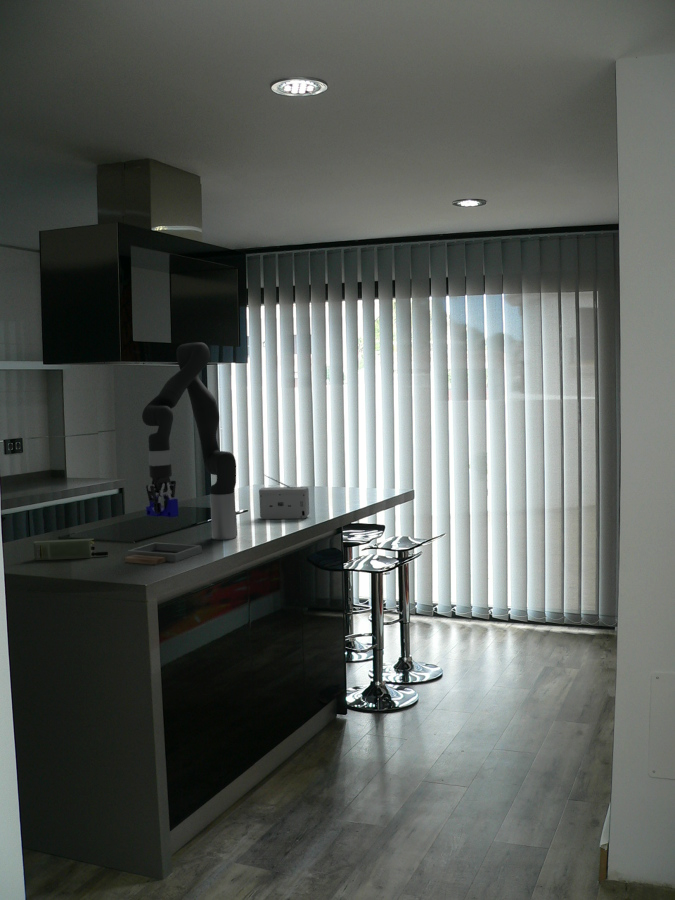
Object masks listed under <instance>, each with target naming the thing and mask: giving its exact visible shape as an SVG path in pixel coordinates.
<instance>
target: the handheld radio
mask: <svg viewBox="0 0 675 900" xmlns="http://www.w3.org/2000/svg"><path fill="white" fill-rule="evenodd" d="M93 540H95V538H79V539H78V538H76V539H74V538H73V539H55V540H35V541H33V551H34V552H33V553H34V560H35V561H45V560H46V561H48V560H51V561H52V560H67V559H69V560H71V559H73V560H74V559H87V558H88V559H89V558H92V557H93V556H94V557H95V556H97V557H98V556H99V557H100V556H108V555H109V551H96V552H94V550H95V549H96V547H95V546H93V545H94V544H95V541H93Z"/></svg>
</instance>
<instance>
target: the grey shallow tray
mask: <svg viewBox="0 0 675 900" xmlns="http://www.w3.org/2000/svg"><path fill="white" fill-rule="evenodd" d="M202 549H203V548H202V545H199V544H198V545H196V544H195V545H194V544H185V543H184V544H182V543H171V542H170V543H167V542H156V541H155V542H152V543H149V544H145V545H142V546H139V547H138V546H137V547H135V548H131V549H128V550H126V552H127V553H126V554H127V556H126V557H129V556H132V555H144V556H157V557H165V562H172V563H177V562H179V561H182V560H185V559H188V558H190V557H193V556H196V555H200V554H201V553H203V550H202ZM156 551H158V552H156ZM159 551H165V552H159ZM172 552H175V553H172Z"/></svg>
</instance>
